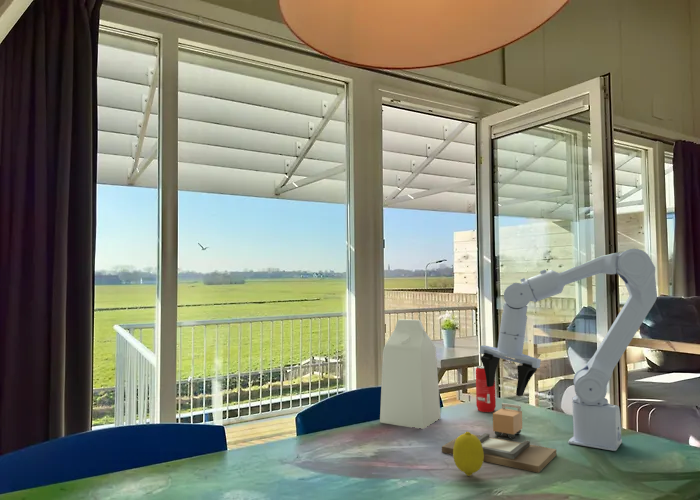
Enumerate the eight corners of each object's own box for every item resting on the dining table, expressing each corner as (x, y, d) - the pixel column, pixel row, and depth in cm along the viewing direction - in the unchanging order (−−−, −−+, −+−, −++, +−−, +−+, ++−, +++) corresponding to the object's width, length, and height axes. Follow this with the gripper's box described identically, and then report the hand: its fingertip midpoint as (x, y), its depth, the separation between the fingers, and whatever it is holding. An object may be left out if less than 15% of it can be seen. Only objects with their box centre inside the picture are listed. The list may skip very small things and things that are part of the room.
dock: (556, 455, 105) (556, 444, 105) (538, 472, 96) (538, 460, 96) (465, 438, 117) (465, 428, 117) (441, 452, 108) (441, 441, 108)
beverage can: (472, 409, 144) (471, 366, 144) (487, 407, 146) (486, 364, 146) (484, 413, 139) (483, 368, 140) (499, 411, 141) (498, 367, 142)
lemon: (482, 483, 91) (481, 437, 91) (451, 479, 93) (450, 434, 93) (485, 472, 96) (484, 429, 97) (455, 469, 98) (455, 426, 98)
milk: (440, 418, 135) (438, 319, 136) (423, 429, 125) (421, 322, 126) (399, 412, 141) (398, 317, 142) (379, 422, 131) (378, 320, 133)
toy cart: (502, 430, 123) (501, 402, 124) (522, 433, 120) (521, 405, 121) (493, 436, 118) (492, 407, 119) (513, 439, 116) (513, 410, 116)
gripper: (476, 327, 123) (468, 383, 123) (533, 340, 113) (525, 401, 113) (491, 327, 128) (483, 381, 128) (547, 340, 118) (539, 398, 118)
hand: (504, 390), depth 121 cm, fingers open, 7 cm apart
